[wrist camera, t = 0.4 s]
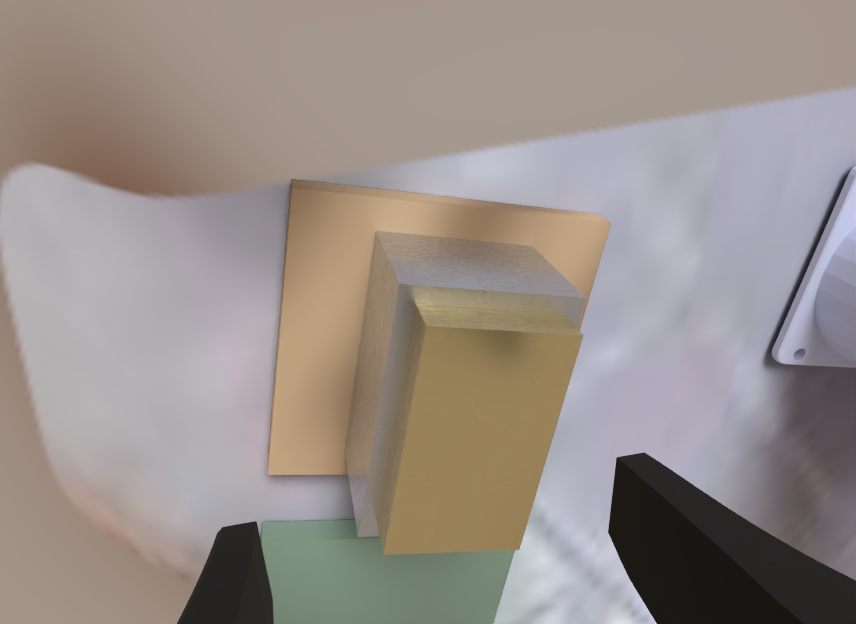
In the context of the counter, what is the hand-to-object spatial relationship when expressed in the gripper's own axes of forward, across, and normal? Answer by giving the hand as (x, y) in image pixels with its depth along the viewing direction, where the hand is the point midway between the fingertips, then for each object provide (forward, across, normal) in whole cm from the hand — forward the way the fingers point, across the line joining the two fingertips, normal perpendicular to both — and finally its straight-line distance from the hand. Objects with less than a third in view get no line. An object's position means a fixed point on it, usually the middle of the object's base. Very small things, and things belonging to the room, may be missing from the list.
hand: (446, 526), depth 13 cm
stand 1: (+10, -2, +1) cm, 10 cm away
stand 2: (+10, +1, +14) cm, 17 cm away
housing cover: (+5, -2, +1) cm, 5 cm away
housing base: (+9, -2, +1) cm, 9 cm away
